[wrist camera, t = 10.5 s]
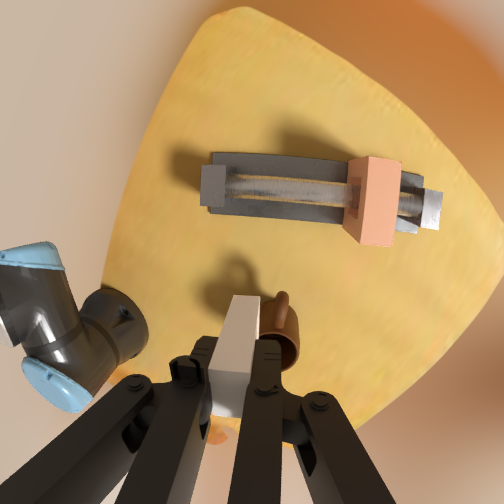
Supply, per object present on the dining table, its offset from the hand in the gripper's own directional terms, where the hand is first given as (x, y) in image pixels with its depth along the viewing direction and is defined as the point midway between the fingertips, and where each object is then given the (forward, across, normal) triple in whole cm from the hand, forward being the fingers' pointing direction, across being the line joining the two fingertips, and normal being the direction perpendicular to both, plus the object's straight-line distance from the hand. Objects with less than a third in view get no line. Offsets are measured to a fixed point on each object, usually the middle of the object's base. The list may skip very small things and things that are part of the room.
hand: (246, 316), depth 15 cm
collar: (+24, +13, +6) cm, 28 cm away
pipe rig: (+25, +8, +6) cm, 27 cm away
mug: (+26, +2, -12) cm, 29 cm away
